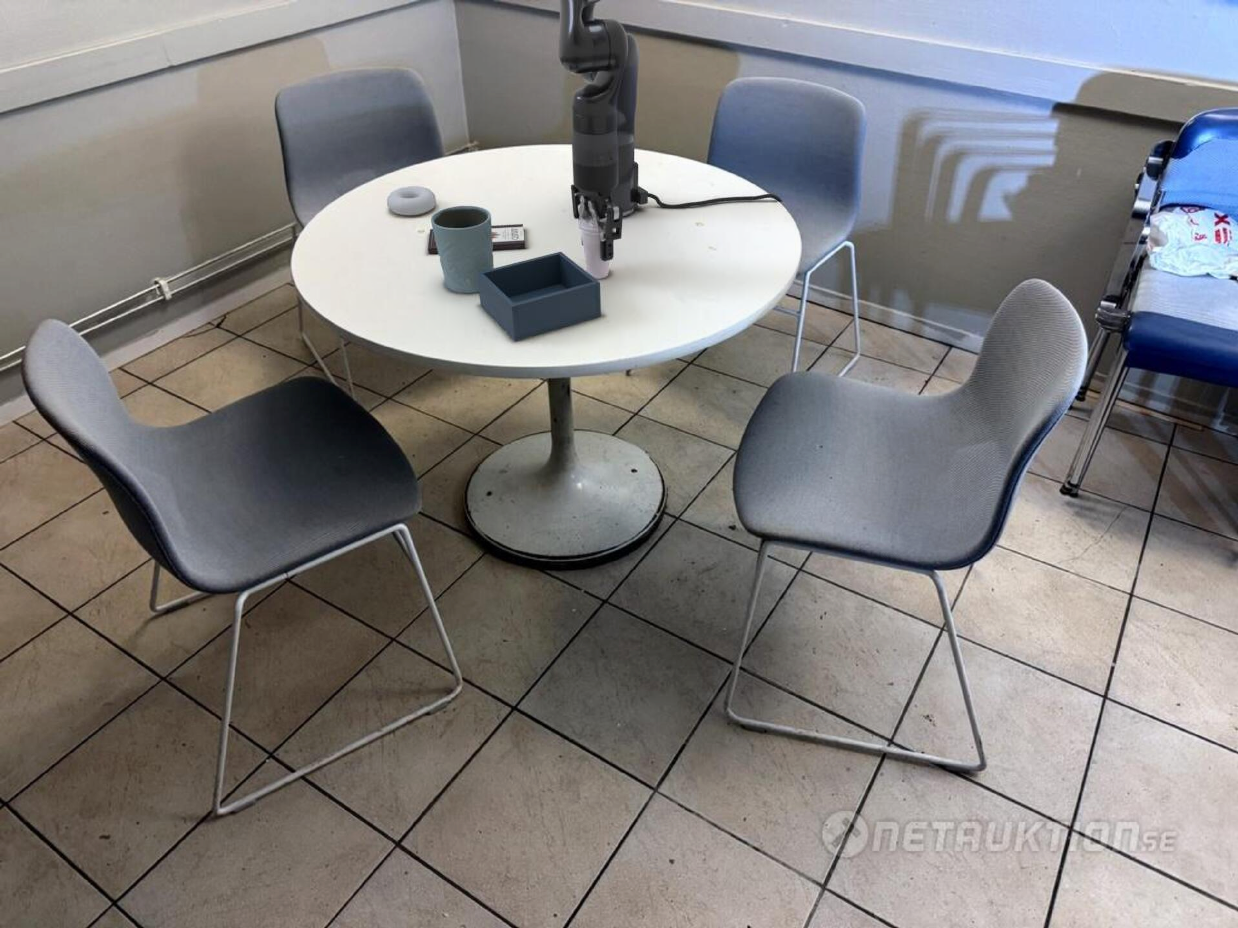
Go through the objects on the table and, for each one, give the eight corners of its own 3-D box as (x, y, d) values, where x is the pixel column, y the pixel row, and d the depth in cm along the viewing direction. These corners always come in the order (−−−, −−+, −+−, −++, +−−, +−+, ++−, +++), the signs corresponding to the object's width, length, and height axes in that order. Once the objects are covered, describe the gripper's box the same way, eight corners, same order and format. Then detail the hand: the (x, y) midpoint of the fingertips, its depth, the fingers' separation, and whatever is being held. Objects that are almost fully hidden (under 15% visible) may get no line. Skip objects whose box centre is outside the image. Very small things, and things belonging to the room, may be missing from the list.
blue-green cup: (472, 300, 142) (464, 233, 134) (428, 286, 146) (417, 220, 138) (509, 277, 148) (503, 212, 141) (465, 264, 153) (457, 200, 145)
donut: (439, 199, 177) (391, 200, 177) (437, 183, 175) (388, 184, 174) (435, 218, 170) (385, 218, 169) (432, 201, 168) (382, 202, 167)
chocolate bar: (430, 229, 162) (522, 224, 164) (430, 233, 163) (523, 228, 165) (427, 248, 155) (524, 243, 157) (428, 253, 156) (525, 248, 158)
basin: (562, 283, 147) (561, 251, 143) (601, 316, 137) (600, 282, 134) (480, 305, 140) (476, 272, 137) (515, 341, 131) (511, 306, 127)
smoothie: (589, 285, 146) (587, 207, 137) (574, 270, 151) (571, 194, 142) (622, 277, 148) (621, 200, 140) (605, 263, 153) (604, 188, 144)
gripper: (638, 165, 133) (636, 263, 143) (593, 140, 143) (595, 234, 153) (597, 174, 130) (599, 273, 140) (554, 148, 140) (559, 242, 150)
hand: (597, 252), depth 147 cm, fingers closed on smoothie, 6 cm apart
